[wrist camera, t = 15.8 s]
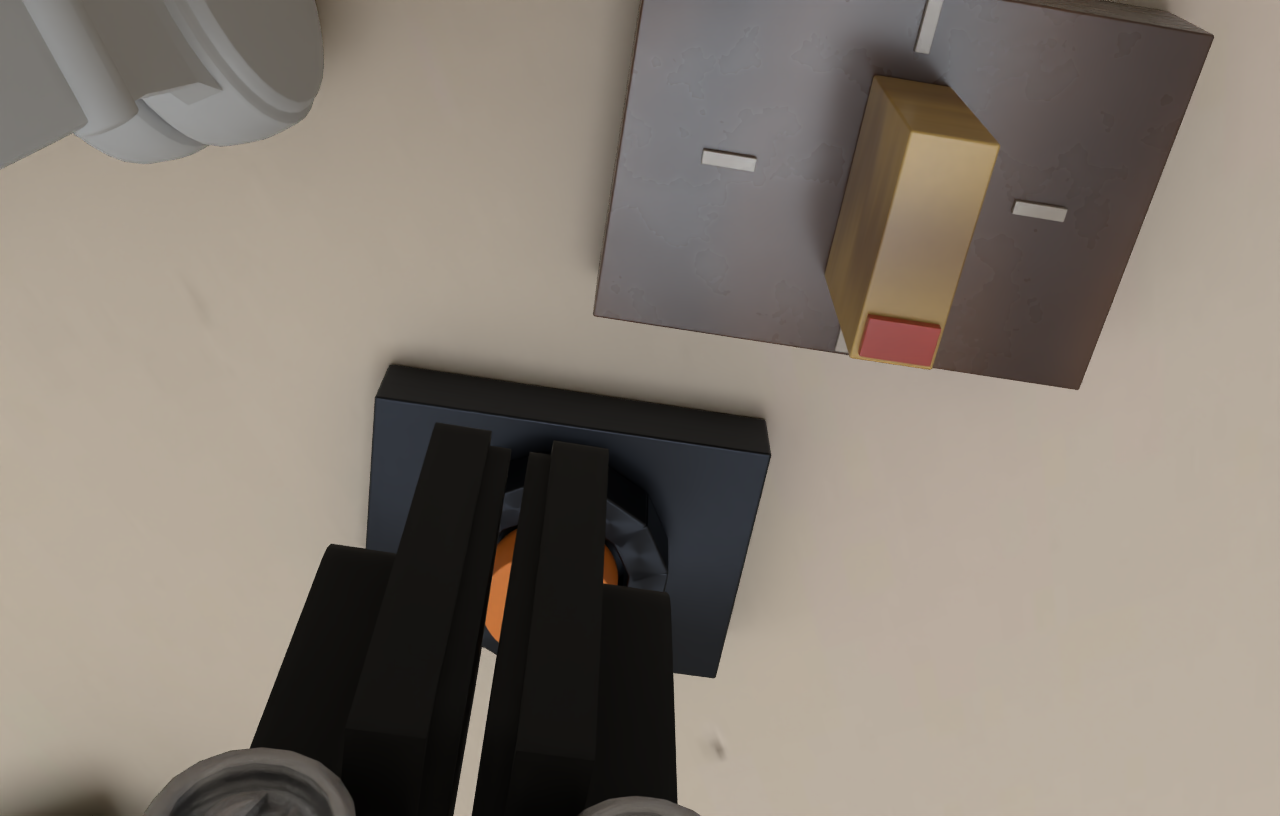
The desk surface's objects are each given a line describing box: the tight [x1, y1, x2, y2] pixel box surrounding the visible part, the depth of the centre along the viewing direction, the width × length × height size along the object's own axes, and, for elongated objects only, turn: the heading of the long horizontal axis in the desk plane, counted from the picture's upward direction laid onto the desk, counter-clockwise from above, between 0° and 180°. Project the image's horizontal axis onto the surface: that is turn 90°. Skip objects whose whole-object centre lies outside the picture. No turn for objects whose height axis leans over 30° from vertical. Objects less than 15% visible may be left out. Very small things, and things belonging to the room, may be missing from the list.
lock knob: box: [824, 75, 1000, 370], centre depth 29 cm, size 6×2×5 cm, turn 171°
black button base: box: [366, 365, 771, 678], centre depth 38 cm, size 12×9×4 cm
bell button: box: [485, 529, 618, 642], centre depth 36 cm, size 4×4×2 cm
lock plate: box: [593, 0, 1214, 390], centre depth 32 cm, size 14×10×3 cm
